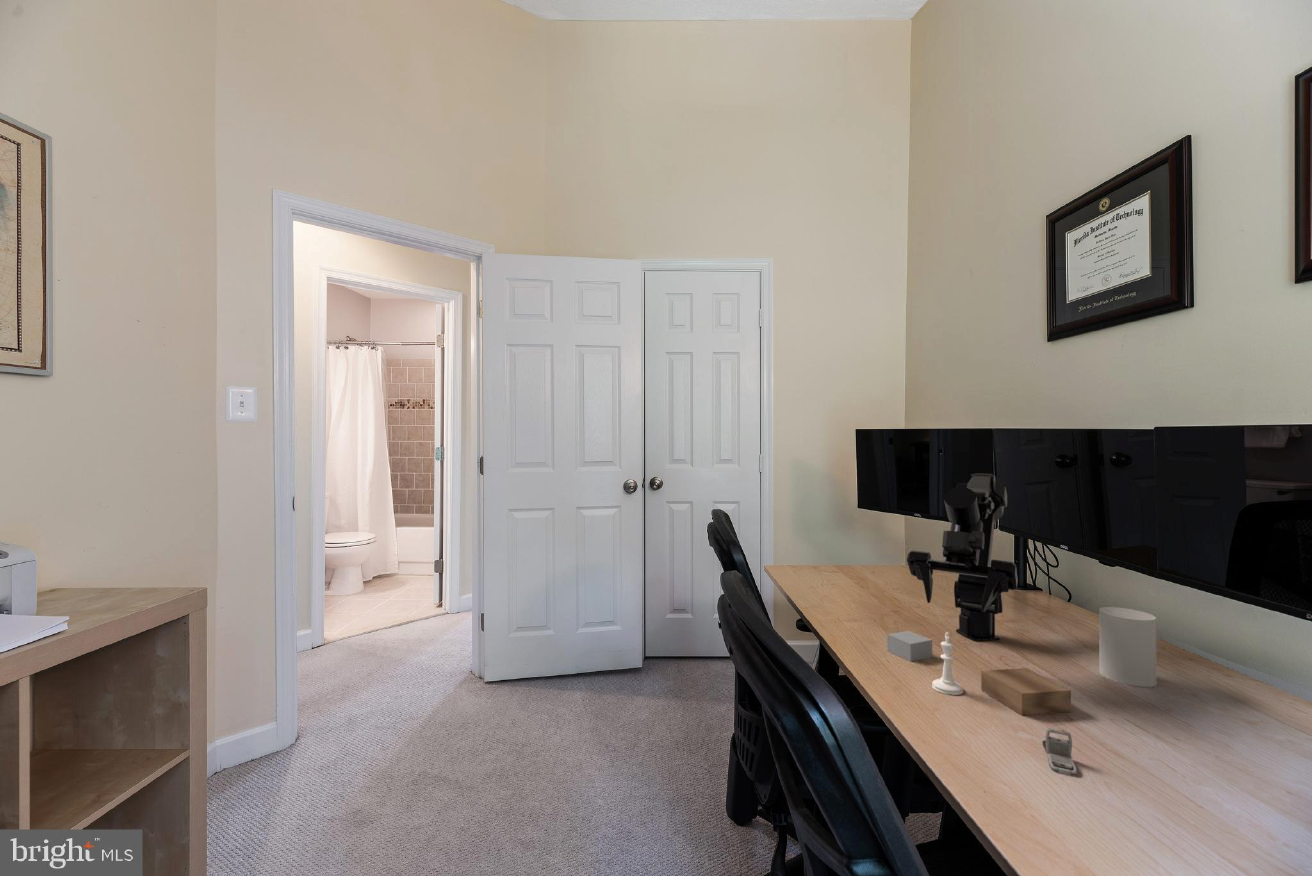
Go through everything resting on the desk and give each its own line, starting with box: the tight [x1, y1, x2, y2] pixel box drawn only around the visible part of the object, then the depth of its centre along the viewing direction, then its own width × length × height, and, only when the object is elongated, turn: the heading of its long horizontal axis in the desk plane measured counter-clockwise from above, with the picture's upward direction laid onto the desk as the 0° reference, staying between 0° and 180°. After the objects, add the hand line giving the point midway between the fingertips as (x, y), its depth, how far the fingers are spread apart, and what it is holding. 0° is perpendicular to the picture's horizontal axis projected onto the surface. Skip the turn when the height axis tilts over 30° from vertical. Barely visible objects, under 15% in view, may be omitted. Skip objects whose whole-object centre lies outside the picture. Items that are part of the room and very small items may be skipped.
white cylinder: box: [1098, 606, 1157, 688], centre depth 103 cm, size 8×8×12 cm
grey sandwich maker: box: [1041, 727, 1078, 777], centre depth 76 cm, size 8×3×4 cm, turn 152°
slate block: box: [886, 630, 933, 662], centre depth 114 cm, size 6×6×4 cm
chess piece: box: [931, 631, 964, 696], centre depth 98 cm, size 5×5×10 cm
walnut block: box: [980, 667, 1072, 716], centre depth 94 cm, size 9×9×4 cm
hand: (954, 606), depth 104 cm, fingers open, 9 cm apart
